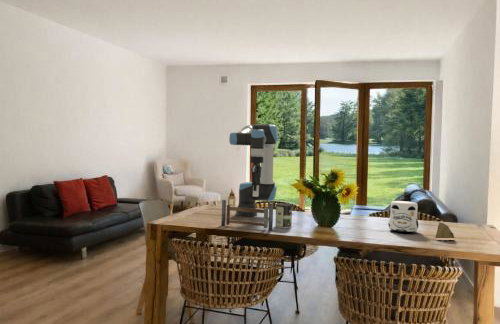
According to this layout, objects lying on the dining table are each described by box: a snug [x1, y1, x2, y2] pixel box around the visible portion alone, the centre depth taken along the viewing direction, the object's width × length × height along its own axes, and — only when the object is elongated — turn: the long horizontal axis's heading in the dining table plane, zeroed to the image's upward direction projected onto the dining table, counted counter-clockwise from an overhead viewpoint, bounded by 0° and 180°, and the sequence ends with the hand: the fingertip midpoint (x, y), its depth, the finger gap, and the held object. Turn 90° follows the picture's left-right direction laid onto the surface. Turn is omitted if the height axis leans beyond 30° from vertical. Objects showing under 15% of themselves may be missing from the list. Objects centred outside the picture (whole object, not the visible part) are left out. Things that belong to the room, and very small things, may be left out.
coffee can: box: [274, 202, 293, 229], centre depth 263 cm, size 10×10×14 cm
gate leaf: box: [225, 204, 269, 229], centre depth 256 cm, size 2×26×12 cm, turn 72°
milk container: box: [387, 200, 419, 233], centre depth 260 cm, size 17×17×18 cm
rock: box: [435, 222, 455, 238], centre depth 239 cm, size 11×9×10 cm
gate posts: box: [221, 199, 274, 231], centre depth 256 cm, size 2×32×16 cm, turn 72°
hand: (255, 196), depth 247 cm, fingers closed
